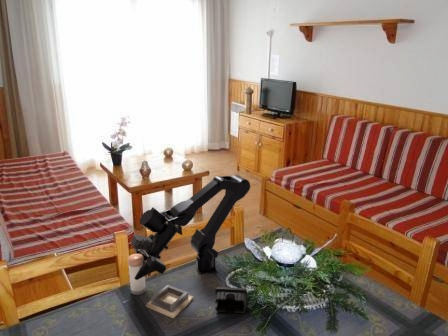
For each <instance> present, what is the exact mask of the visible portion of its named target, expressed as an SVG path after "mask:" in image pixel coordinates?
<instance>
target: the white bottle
mask: <svg viewBox="0 0 448 336" xmlns="http://www.w3.org/2000/svg"><path fill="white" fill-rule="evenodd" d="M143 260H144V259H143V255H142V254H135V253H133V254H130V255H129V256H128V257H127V262H128V273H129V285H130V293H131V294H132V295H134V296H140V295H143V294H144V293H145V292H146V291H147V289H146V287H147V286H146V276H144V277H142V278H140V279H138V280H136V279H135V276H136V274H137V273H138V271H139V270H140V268H141V267H142V265H143Z"/></svg>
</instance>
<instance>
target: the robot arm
mask: <svg viewBox="0 0 448 336" xmlns="http://www.w3.org/2000/svg"><path fill="white" fill-rule="evenodd" d="M250 189H251V183H250V180H248V179H246V178H245V177H242V176H240V174H233V175H223V176H220V175H216V176H214V177H213V179H212V180H211V181H209V182H208V183H206V184H205V186H203V187H202V188H201V189H199V190H198V191H197V192H196V193H194V194H193V195H192V196H190V197H189V198H188V199H187V200H184V201H180V202H179V203H177V204H175V205H173V206H171V208H169V209H166V210H163V211H159V210H157V209H156V207H151V209H147V210H145V212H143V213H142V215H141V217H140V218H139V224H140V225H141V226H143V227H144V228H146V229H147V230H149V231H150V232H152V233H151V234H149V236H144V235H140V234H134V235H133V236H132V238H131V241H130V245H131V246H132V247H133V250H134V254H142V255H143V259H144V260H143V265H142V267H141V268H140V270H139V271H138V273H137V274H136V276H135V279H136V280H138V279H140V278H142V277H144V276H145V277H146V276H147V275H150V274H152V273H154V272H157V273H158V274H161V275H164V273H165V272H166V271H167V266H166V264H165V263H164V261H162V260H161V258H162V256H161V254H162V252H163V251H164V250H168V249H169V246H168V245H169V243H170V242H171V241H172V240H173V238H174V237H175V236H176V235H177V234H179V235H180V236H182V235H183V230H182V229H183V227H186V226H187V225H188V224H189V223H190V222H191V221H192V220H193V218H195V216H196V214H197V212H198V210H199V209H200V208H202V207H203V206H204V205H206V204H207V203H209V201H210V200H211V199H213V198H214V197H216V196H217V195H218V194H219V193H220V192H221V191H222V190H225V191H224V193H225V194H224V196H223V197H222V199H221V201H220V202H219V204H218V206H217V207H216V208H215V209H214V212H213V213H212V214H211V217H210V218H209V220H208V222H207V223H206V224H205V226H204V227H203V228H201V229H198V228H196V229H195V232H194V233H193V234H192V236H191V237H190V238H191V239H190V246H191V248H192V249H193V250H194V251H195V252H196V256H197V257H196V258H195V267H196V270H197V271H198V272H199V274H200V275H205V274H210V273H215V272H217V271H218V268H217V267H216V259H218V256H219V252H218V251H217V250H216V248H214V246H215V244H216V243H215V242H216V236H217V233H218V231H219V230H220V228H221V227H222V226H223V224H224V222H225V220H226V219H227V218H228V215H230V213H231V211H232V209H233V208H234V206H235V205H236V203H237V202H239V201H240V200H242V199H243V198H245V196H246V195H247V194H248V193H249V191H250ZM153 233H154V234H153Z"/></svg>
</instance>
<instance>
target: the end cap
mask: <svg viewBox="0 0 448 336" xmlns="http://www.w3.org/2000/svg"><path fill="white" fill-rule="evenodd" d="M214 292H215V299H214V302H215V304H214V305H215V306H214V308H215V315H218V316H231V317H232V316H234V317H244V316H245V314H246V312H245V311H246V309H247V308H246V307H247V304H248V303H247V302H248V301H247V299H248V295H247V294H248V289H247V288H246V287H245V288H244V287H242V288H241V287H227V286H226V287H225V286H216V287H215V291H214Z"/></svg>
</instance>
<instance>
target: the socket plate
mask: <svg viewBox="0 0 448 336" xmlns="http://www.w3.org/2000/svg"><path fill="white" fill-rule="evenodd" d="M193 300H194V295H190V294H189V292H188V291H185V290H183V289H180V288H177V287H175V286H172V285H169V284H166V285H165V286H164V287H163V288H162V289H160V290H159V291H158V292H157V293H155V294H154V295H153V296H152V297H151V298H150V301H148V302H147V303H146V304H145V307H146V308H148V309H151V310H153V311H155V312H157V313H159V314H162V315H164V316H166V317H169V318H171V319H175V318H176V317H177V316H178V315H179V314H180V313H181V312H182V311H183V309H185V308H186V306H188V305H189V304H190V303H191V302H192V301H193Z"/></svg>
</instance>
